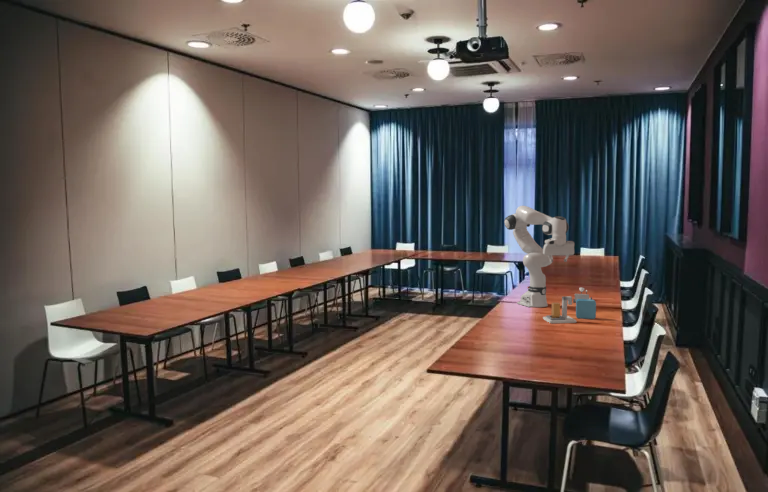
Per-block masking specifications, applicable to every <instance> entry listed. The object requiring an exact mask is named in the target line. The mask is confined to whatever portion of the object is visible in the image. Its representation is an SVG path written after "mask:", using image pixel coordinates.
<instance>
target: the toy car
mask: <svg viewBox="0 0 768 492" xmlns="http://www.w3.org/2000/svg"><path fill="white" fill-rule="evenodd" d="M585 289H586V288H584V287H579V289H578V290H579V291H580V292H581V293H574V298H572V304H573V303H575V304H576V300H577V299H589V300H593V297H592V296H591V297H590V294H587V292H588V290H587V289H586V290H585ZM583 292H585V293H583Z"/></svg>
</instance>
